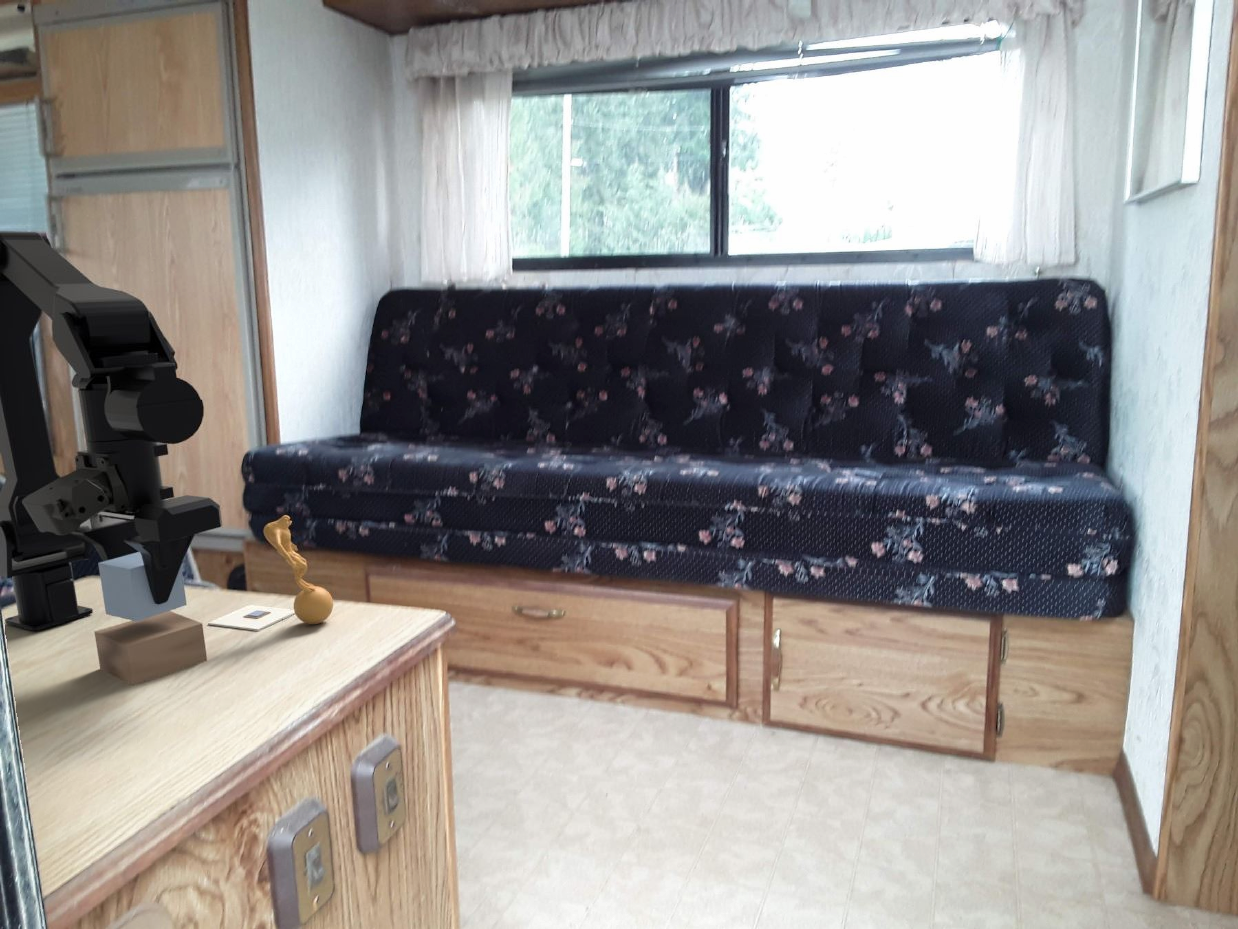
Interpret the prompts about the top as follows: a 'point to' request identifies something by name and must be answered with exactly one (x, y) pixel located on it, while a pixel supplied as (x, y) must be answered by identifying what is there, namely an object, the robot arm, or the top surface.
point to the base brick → (150, 647)
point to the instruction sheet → (253, 617)
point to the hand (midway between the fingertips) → (144, 599)
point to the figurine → (299, 575)
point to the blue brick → (134, 589)
